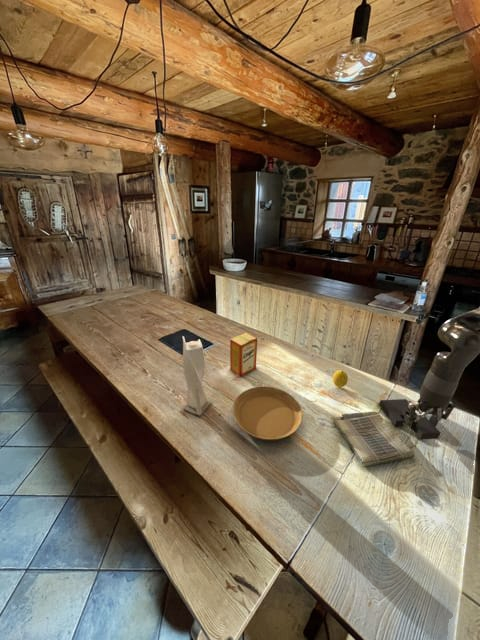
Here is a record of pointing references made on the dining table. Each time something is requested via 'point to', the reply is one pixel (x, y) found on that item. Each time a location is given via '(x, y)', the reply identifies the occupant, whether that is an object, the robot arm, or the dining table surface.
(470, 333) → the robot arm
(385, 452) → the dish towel
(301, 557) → the dining table surface
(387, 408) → the notch pad
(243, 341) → the baking soda box
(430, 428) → the pad
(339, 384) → the lemon
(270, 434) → the plant saucer
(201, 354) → the skyscraper
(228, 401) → the dining table surface
